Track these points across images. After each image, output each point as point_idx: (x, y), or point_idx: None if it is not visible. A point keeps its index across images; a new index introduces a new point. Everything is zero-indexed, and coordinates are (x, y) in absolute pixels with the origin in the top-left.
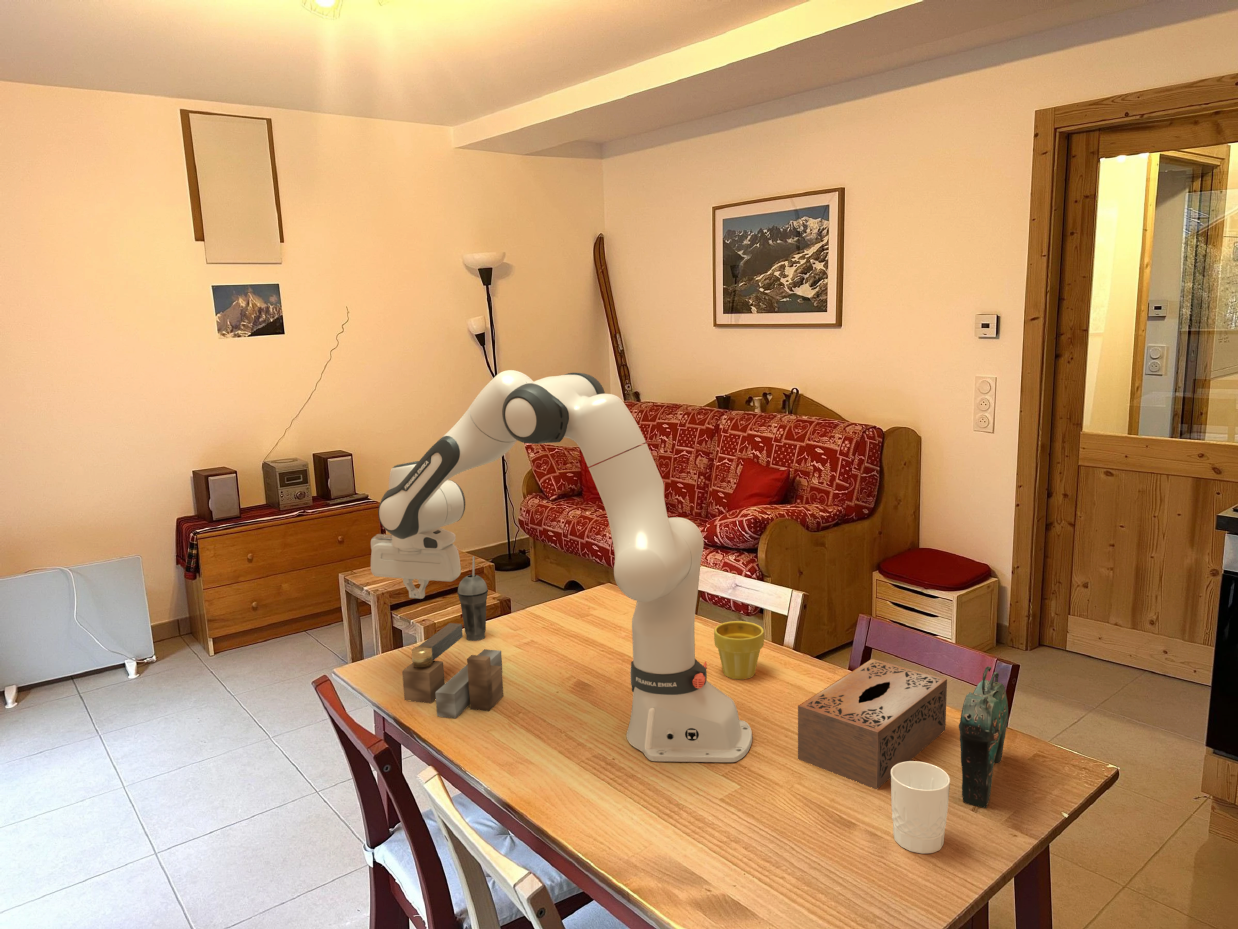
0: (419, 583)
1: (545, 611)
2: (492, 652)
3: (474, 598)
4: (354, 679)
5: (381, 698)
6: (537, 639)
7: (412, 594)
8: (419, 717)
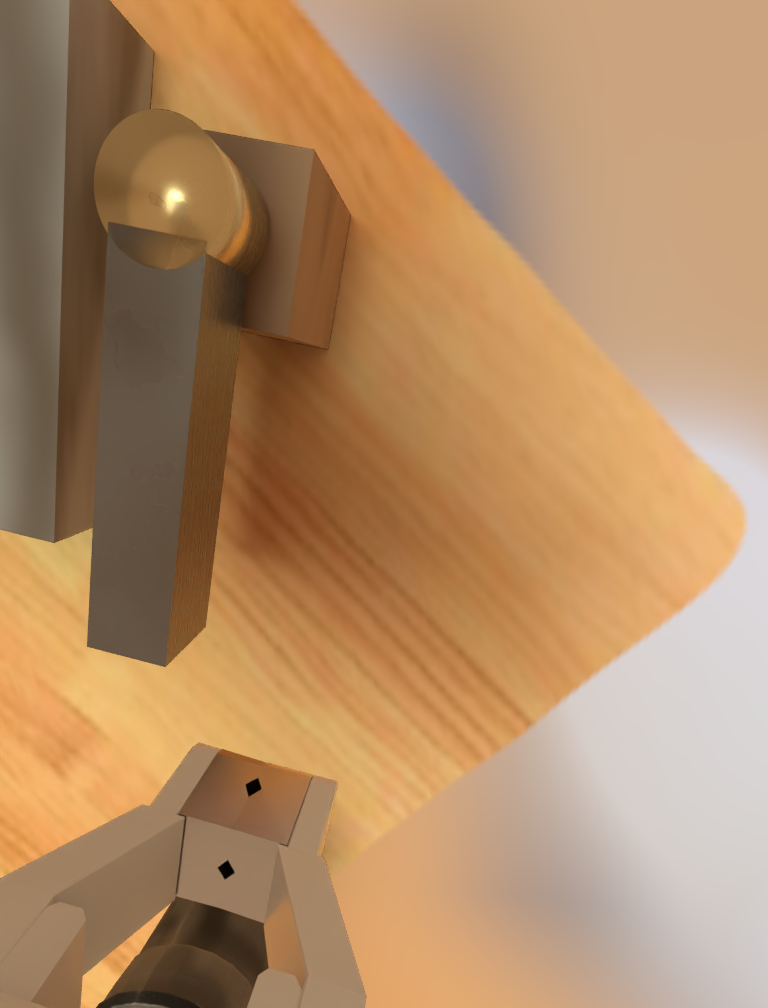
0: (67, 914)
1: (103, 996)
2: (2, 503)
3: (139, 979)
4: (658, 443)
5: (465, 236)
6: (45, 778)
7: (283, 799)
8: (227, 37)
